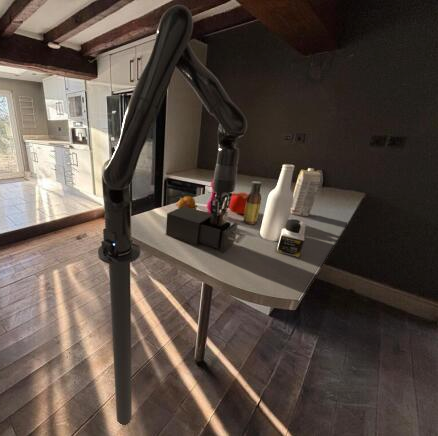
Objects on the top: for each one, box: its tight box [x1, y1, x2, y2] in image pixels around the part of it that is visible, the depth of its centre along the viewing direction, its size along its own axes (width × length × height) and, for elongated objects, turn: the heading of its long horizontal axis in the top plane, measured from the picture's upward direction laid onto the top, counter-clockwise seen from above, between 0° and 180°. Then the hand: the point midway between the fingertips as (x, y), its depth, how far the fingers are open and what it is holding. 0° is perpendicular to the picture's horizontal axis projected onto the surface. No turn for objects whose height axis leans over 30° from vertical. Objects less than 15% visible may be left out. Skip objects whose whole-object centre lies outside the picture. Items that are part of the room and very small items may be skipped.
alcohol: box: [259, 163, 296, 242], centre depth 92 cm, size 9×9×30 cm
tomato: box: [228, 192, 250, 215], centre depth 123 cm, size 14×16×10 cm
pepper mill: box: [206, 180, 220, 213], centre depth 117 cm, size 7×7×20 cm
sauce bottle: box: [243, 180, 263, 225], centre depth 108 cm, size 7×6×20 cm
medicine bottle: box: [276, 218, 307, 258], centre depth 85 cm, size 7×7×12 cm
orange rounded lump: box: [176, 195, 199, 210], centre depth 120 cm, size 10×11×10 cm
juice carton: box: [290, 167, 322, 217], centre depth 120 cm, size 9×8×24 cm
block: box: [211, 211, 229, 226], centre depth 87 cm, size 4×4×4 cm
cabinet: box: [165, 206, 212, 247], centre depth 96 cm, size 15×13×10 cm
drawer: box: [198, 218, 247, 253], centre depth 89 cm, size 18×11×8 cm, turn 50°
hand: (218, 221), depth 87 cm, fingers closed on block, 4 cm apart
